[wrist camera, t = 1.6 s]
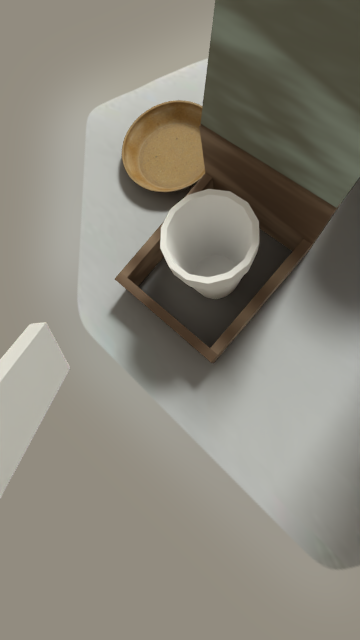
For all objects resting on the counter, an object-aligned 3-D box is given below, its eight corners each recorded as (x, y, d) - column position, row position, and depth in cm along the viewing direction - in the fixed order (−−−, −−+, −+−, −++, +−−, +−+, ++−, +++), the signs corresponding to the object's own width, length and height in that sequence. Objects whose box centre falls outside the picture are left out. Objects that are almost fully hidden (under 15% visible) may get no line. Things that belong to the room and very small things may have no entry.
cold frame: (236, 159, 42) (246, -194, 15) (334, 221, 38) (568, -108, 12) (126, 288, 42) (-54, 152, 15) (213, 363, 38) (173, 355, 11)
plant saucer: (138, 214, 44) (132, 205, 41) (119, 134, 46) (113, 121, 44) (233, 183, 42) (233, 171, 39) (207, 101, 45) (206, 85, 42)
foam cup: (171, 263, 41) (145, 217, 28) (230, 233, 40) (230, 172, 28) (200, 321, 39) (185, 300, 26) (262, 291, 38) (278, 254, 26)
